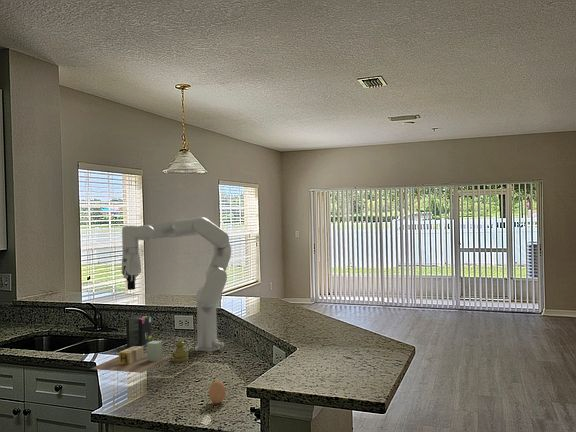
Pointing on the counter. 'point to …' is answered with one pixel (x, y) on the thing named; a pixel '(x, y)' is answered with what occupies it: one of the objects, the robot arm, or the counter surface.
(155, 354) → the sage block
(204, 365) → the counter surface
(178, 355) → the olive tiered piece
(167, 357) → the walnut board
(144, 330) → the tampon box
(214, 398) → the egg
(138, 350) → the maple block
